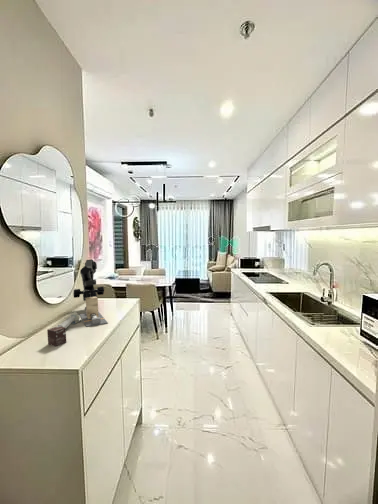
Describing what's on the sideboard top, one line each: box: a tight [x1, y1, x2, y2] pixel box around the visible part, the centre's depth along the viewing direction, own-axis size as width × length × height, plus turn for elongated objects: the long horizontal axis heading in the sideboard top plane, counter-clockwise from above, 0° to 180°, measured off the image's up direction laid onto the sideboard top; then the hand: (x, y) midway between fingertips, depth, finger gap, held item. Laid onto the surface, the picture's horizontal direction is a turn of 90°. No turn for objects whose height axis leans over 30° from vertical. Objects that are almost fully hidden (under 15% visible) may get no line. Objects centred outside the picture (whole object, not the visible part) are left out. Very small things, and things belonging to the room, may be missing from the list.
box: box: [46, 325, 67, 347], centre depth 142 cm, size 6×6×7 cm
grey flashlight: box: [56, 311, 81, 329], centre depth 167 cm, size 5×7×25 cm
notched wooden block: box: [85, 296, 99, 319], centre depth 184 cm, size 5×6×12 cm
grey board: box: [79, 310, 109, 328], centre depth 183 cm, size 30×12×4 cm, turn 27°
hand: (90, 302), depth 187 cm, fingers closed
